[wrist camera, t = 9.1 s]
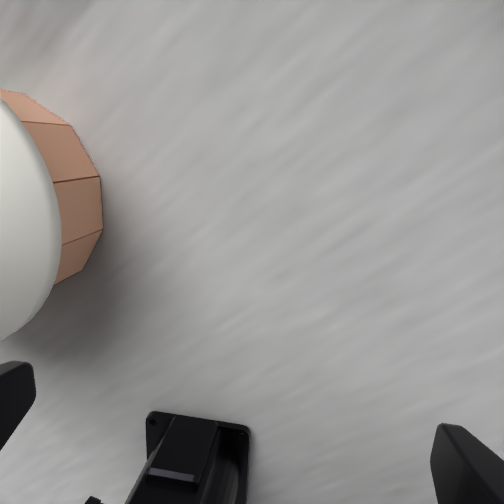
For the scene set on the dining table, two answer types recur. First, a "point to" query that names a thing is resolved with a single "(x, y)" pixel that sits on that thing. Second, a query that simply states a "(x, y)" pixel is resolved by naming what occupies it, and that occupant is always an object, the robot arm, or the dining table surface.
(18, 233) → the lid
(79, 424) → the dining table surface
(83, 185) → the faceted tan prism
